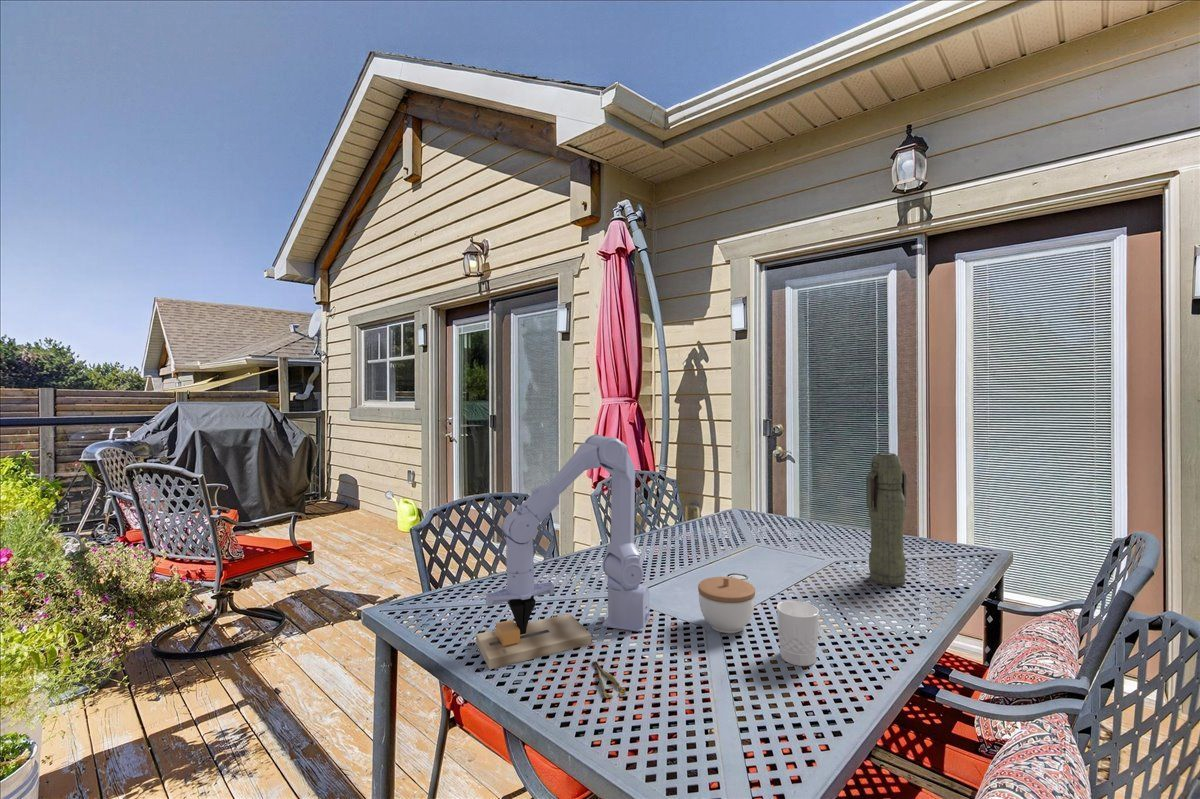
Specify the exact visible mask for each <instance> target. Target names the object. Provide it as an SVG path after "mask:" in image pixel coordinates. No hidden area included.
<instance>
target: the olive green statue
mask: <svg viewBox="0 0 1200 799" xmlns="http://www.w3.org/2000/svg"><path fill="white" fill-rule="evenodd" d="M865 480H866V482H865V486H866V492H865V493H866V498H865V499H866V508H868V517H869V518H870V551H869V554H868V570H869V580H870V581H872V582H873V583H876V584H878V585H881V586H887V587H901V586H904V585H905V584H906V574H907V573H906V572H907V569H906V568H907V566H906V565H907V563H906V562H907V561H906V560H907V558H906V556H905V553H904V521H905V520H906V505H907V474H906V472H905V470H903V464H902V462H901V458H900V456H899V455H898V454H896V453H891V452H877V453H876V454H873V457H872V459H871V463H870V471H869V472H868V473H867V475H866V478H865Z"/></svg>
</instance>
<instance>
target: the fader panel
mask: <svg viewBox="0 0 1200 799" xmlns="http://www.w3.org/2000/svg"><path fill="white" fill-rule="evenodd" d="M475 640H476V641H475V644H476V645H477V647H478V650H479V652H480V653H481V654H480V655H482V657H483V660H484V661H485V664H486V665H487V667H488V669H489V670H492V669H493V670H494V669H498V668H502V667H505V666H509V665H514V664H517V663H521V662H526V661H529V660H534V659H537V658H538V659H539V658H541V657H546V656H550V655H553V654H557V653H561V652H565V651H569V650H573V649H578V648H580V647H581V648H582V647H585V646H589V645H590V646H591V645H592V634H591V632H590V631H588V629H587V628H585V627H584V626H583V625H582V623H581V622H579V620H577V619H576V618H575V617H574V616H573V615H572V613H568V614H562V615H558V616H553V617H548V618H544V619H539V620H534V621H530V622H529V621H528V625H527V629H526V634H522V635H520V642H519V643H515V644H510V645H506V646H503V645H502V643H501V642H500V640H499V638H498V637H497V635H496V629H494V630H489V631H485V632H479V633H476V635H475Z"/></svg>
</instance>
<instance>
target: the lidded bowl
mask: <svg viewBox="0 0 1200 799" xmlns="http://www.w3.org/2000/svg"><path fill="white" fill-rule="evenodd" d="M697 590H698V591H697V592H698V601H699V602H698V603H699V607H700V611H701V614H702V616H703V617H704V619H705V621H706V622H707V624H709V625H710V627H711V629H712V630H714V631H715V632H718V633H722V634H736V633H739V632H742V631H743V629H744V627H746V626H747V625H748V624H749V622H750V621H751V620H752V617H753V615H754V611H755V602H756V601H755V598H756V597H755V596H756V587H754V585H753V584H752V583H751V582H748V581H747V580H744V579H741V578H735V577H731V576H730V577H729V576H715V577H708V578H705V579H703V580H701V581H700V582H699V583H698V585H697Z"/></svg>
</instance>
